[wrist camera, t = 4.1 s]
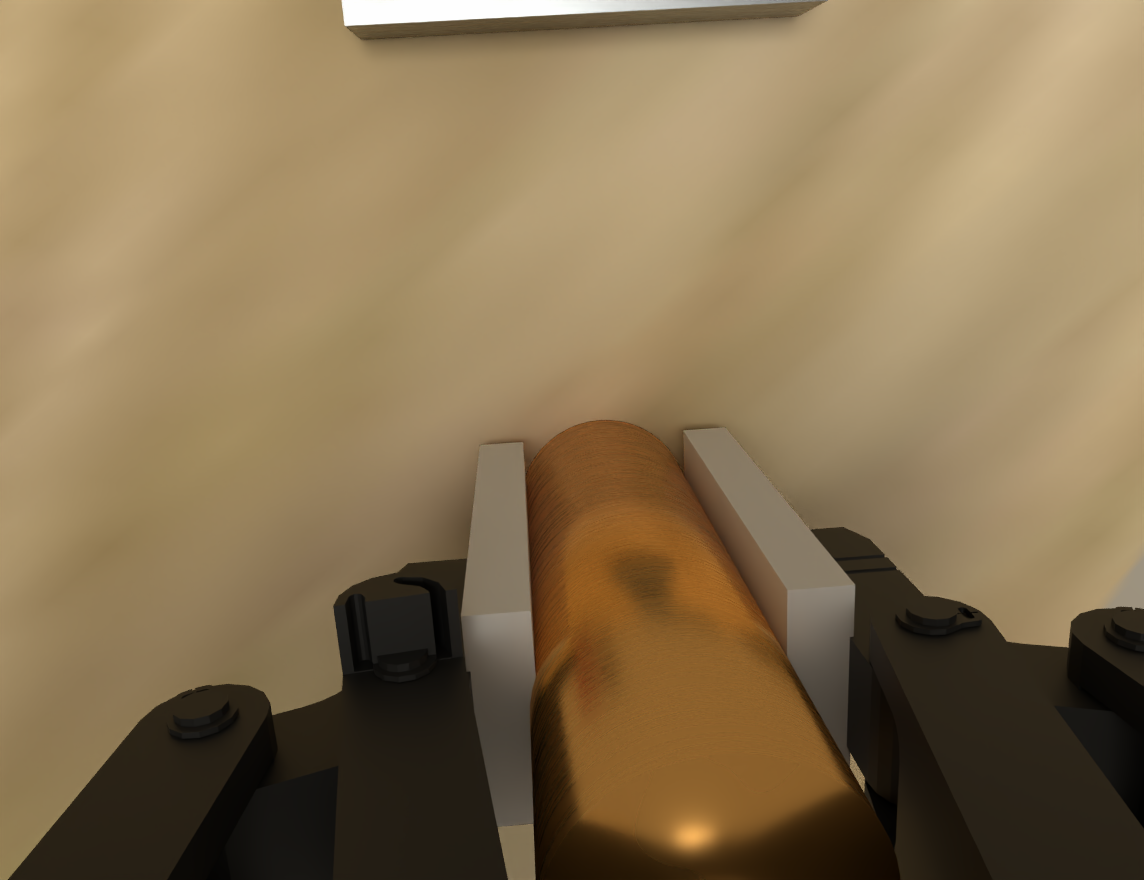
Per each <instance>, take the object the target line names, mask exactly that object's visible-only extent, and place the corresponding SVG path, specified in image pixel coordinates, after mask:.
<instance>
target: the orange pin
mask: <svg viewBox="0 0 1144 880" xmlns="http://www.w3.org/2000/svg"><path fill="white" fill-rule="evenodd" d="M526 489H527V510H528V530H529V550H530V570H531V590H532V611H533V631H534V651H535V671H536V679H535V682H534V685H533V689H532V694H531V701H530V736H531V764H532V791H533V819H534V846H535V874H536V880H900V872H899V867H898V861H897V857H896V854H895V851H894V848H893V846H892V843H891V840H890V838H889V836H888V834H887V833H886V831H885V829H884V827H883V826H882V824H881V822H880V820H879V818H878V817H877V815H876V813H875V811H874V810H873V808H872V806H871V804H870V803H869V801H868V799H867V797H866V795H865V794H864V792H863V790H862V788H861V787H860V785H859V783H858V781H857V780H856V778H855V776H854V774H853V772H852V771H851V769H850V767H849V765H848V764H847V762H846V760H845V758H844V757H843V755H842V753H841V751H840V750H839V748H838V746H837V744H836V742H835V741H834V739H833V737H832V735H831V734H830V732H829V730H828V728H827V727H826V725H825V723H824V721H823V719H822V718H821V716H820V714H819V712H818V711H817V709H816V707H815V705H814V704H813V702H812V700H811V698H810V697H809V695H808V693H807V691H806V689H805V688H804V686H803V684H802V682H801V681H800V679H799V677H798V675H797V674H796V672H795V670H794V668H793V666H792V665H791V663H790V661H789V659H788V658H787V656H786V654H785V652H784V651H783V649H782V647H781V645H780V644H779V642H778V640H777V638H776V636H775V635H774V633H773V631H772V629H771V628H770V626H769V624H768V622H767V621H766V619H765V617H764V615H763V613H762V612H761V610H760V608H759V606H758V605H757V603H756V601H755V599H754V598H753V596H752V594H751V592H750V591H749V589H748V587H747V585H746V583H745V582H744V580H743V578H742V576H741V575H740V573H739V571H738V569H737V568H736V566H735V564H734V562H733V561H732V559H731V557H730V555H729V553H728V552H727V550H726V548H725V546H724V545H723V543H722V541H721V539H720V538H719V536H718V534H717V532H716V530H715V529H714V527H713V525H712V523H711V522H710V520H709V518H708V516H707V515H706V513H705V511H704V509H703V508H702V506H701V504H700V502H699V500H698V499H697V497H696V495H695V493H694V492H693V490H692V488H691V486H690V485H689V483H688V481H687V479H686V477H685V476H684V474H683V472H682V470H681V469H680V467H679V465H678V463H677V462H676V460H675V458H674V456H673V455H672V453H671V452H670V451H669V449H668V448H667V447H666V446H665V445H664V444H663V443H662V442H661V441H660V440H659V439H658V438H656V437H655V436H654V435H652V434H651V433H649V432H648V431H646V430H644V429H642V428H640V427H637V426H635V425H632V424H629V423H625V422H620V421H612V420H600V421H592V422H587V423H583V424H579V425H577V426H574V427H572V428H569V429H567V430H565V431H564V432H562V433H560V434H558V435H557V436H556V437H554V438H553V439H552V440H550V441H549V442H548V443H547V444H546V445H545V446H544V447H543V448H542V449H541V450H540V452H539V453H538V454H537V455H536V457H535V458H534V460H533V462H532V463H531V465H530V467H529V470H528V472H527V474H526Z"/></svg>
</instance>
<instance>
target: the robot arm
mask: <svg viewBox="0 0 1144 880" xmlns="http://www.w3.org/2000/svg"><path fill="white" fill-rule="evenodd" d="M683 448H684V476H685V477H686V479H687V481H688V483H689V485H690V486H691V488H692V490H693V492H694V493H695V495H696V497H697V499H698V500H699V502H700V504H701V506H702V508H703V509H704V511H705V513H706V515H707V516H708V518H709V520H710V522H711V523H712V525H713V527H714V529H715V530H716V532H717V534H718V536H719V538H720V539H721V541H722V543H723V545H724V546H725V548H726V550H727V552H728V553H729V555H730V557H731V559H732V561H733V562H734V564H735V566H736V568H737V569H738V571H739V573H740V575H741V576H742V578H743V580H744V582H745V583H746V585H747V587H748V589H749V591H750V592H751V594H752V596H753V598H754V599H755V601H756V603H757V605H758V606H759V608H760V610H761V612H762V613H763V615H764V617H765V619H766V621H767V622H768V624H769V626H770V628H771V629H772V631H773V633H774V635H775V636H776V638H777V640H778V642H779V644H780V645H781V647H782V649H783V651H784V652H785V654H786V656H787V658H788V659H789V661H790V663H791V665H792V666H793V668H794V670H795V672H796V674H797V675H798V677H799V679H800V681H801V682H802V684H803V686H804V688H805V689H806V691H807V693H808V695H809V697H810V698H811V700H812V702H813V704H814V705H815V707H816V709H817V711H818V712H819V714H820V716H821V718H822V719H823V721H824V723H825V725H826V727H827V728H828V730H829V732H830V734H831V735H832V737H833V739H834V741H835V742H836V744H837V746H838V748H839V750H840V751H841V753H842V755H843V757H844V758H845V760H846V762H847V764H848V765H849V767H850V753H851V755H852V756H853V758H854V760H855V761H856V763H857V765H858V767H859V768H860V770H861V772H862V774H863V775H864V777H865V790H864V794H865V795H866V797H867V799H868V801H869V803H870V804H871V806H872V808H873V810H874V811H875V813H876V815H877V817H878V818H879V820H880V822H881V824H882V826H883V827H884V829H885V831H886V833H887V834H888V836H889V838H890V840H891V843H892V846H893V848H894V851H895V854H896V857H897V861H898V867H899V872H900V880H1144V609H1140V608H1135V610H1133V609H1132V607H1116V608H1112V609H1096V610H1092V611H1088V612H1084V613H1081V614H1079V615H1078V616H1077V617H1076V618H1075V619H1074V620H1073V621H1071V628H1070V638H1069V648H1067V647H1054V646H1042V645H1030V644H1019V643H1012V642H1007V641H1006V640H1005V639H1004V637H1003V636H1002V635H1001V633H1000V632H999V630H998V629H997V628H996V626H995V625H994V624H993V622H992V621H991V620H990V619H989V618H988V617H986V616H985V615H984V614H983V613H982V612H981V611H979V610H977V609H975V608H973V607H971V606H968V605H966V604H964V603H961V602H957V601H953V600H949V599H944V598H940V597H929V596H924V595H923V594H922V593H921V592H920V591H919V590H918V589H917V588H916V587H915V586H914V585H913V584H912V583H911V582H910V581H909V580H908V579H907V578H906V576H905V575H904V574H903V573H902V572H901V571H900V570H897V569H896V566H895V565H894V564H893V563H892V562H891V561H890V560H889V559H888V558H887V557H886V558H885V557H884V554H883V553H882V552H881V551H880V549H879V548H878V547H877V546H876V545H875V544H874V543H873V542H872V541H871V540H870V539H868V538H866V537H864V536H861V535H859V534H857V533H855V532H853V531H851V530H848V529H846V528H844V527H838V528H825V529H812V530H810V529H809V528H808V527H807V526H806V525H805V523H804V522H803V521H802V520H801V518H800V517H799V516H798V515H797V514H796V512H795V511H794V510H793V509H792V508H791V506H790V505H789V504H788V503H787V501H786V500H785V499H784V498H783V497H782V495H781V494H780V493H779V492H778V491H777V489H776V488H775V487H774V486H773V484H772V483H771V482H770V481H769V480H768V478H767V477H766V476H765V475H764V474H763V472H762V471H761V470H760V469H759V467H758V466H757V465H756V464H755V463H754V461H753V460H752V459H751V458H750V457H749V455H748V454H747V453H746V452H745V450H744V449H743V448H742V447H741V446H740V444H739V443H738V442H737V441H736V440H735V438H734V437H733V436H732V435H731V433H730V432H729V431H728V430H727V429H726V427H723V428H709V429H695V430H683ZM333 608H334V615H335V622H336V629H337V636H338V643H339V650H340V657H341V664H342V671H343V685H342V691H340V692H339V693H337V694H335V695H333V696H331V697H329V698H327V699H325V700H323V701H320V702H317V703H314V704H311V705H308V706H305V707H302V708H298V709H294V710H291V711H287V712H283V713H279V714H275V715H272V712H271V706H270V702H269V700H268V699H267V697H266V695H265V694H264V692H262V691H260V690H258V689H255V688H253V687H251V686H246V685H234V684H224V685H217V686H212V685H206V686H202V687H198V688H195V690H193V691H192V689H191V690H188V691H185V692H182V693H180V694H178V695H177V696H176V697H174V698H172V699H170V700H168V701H166V702H164V703H162V704H160V705H158V706H156V707H155V708H154V709H153V710H152V711H151V712H149V713H148V714H147V715H146V716H145V717H144V718H142V719H141V720H140V721H139V723H138V724H137V725H136V726H135V727H134V729H133V730H132V731H131V732H130V733H129V735H128V736H127V737H126V738H125V739H124V741H123V742H122V743H121V744H120V745H119V747H118V748H117V749H116V750H115V751H114V753H113V754H112V755H111V756H110V757H109V759H108V760H107V761H106V762H105V764H104V765H103V766H102V767H101V768H100V770H99V771H98V772H97V773H96V774H95V776H94V777H93V778H92V779H91V780H90V782H89V783H88V784H87V785H86V786H85V788H84V789H83V790H82V791H81V792H80V794H79V795H78V796H77V797H76V798H75V800H74V801H73V802H72V803H71V804H70V806H69V807H68V808H67V809H66V810H65V812H64V813H63V814H62V815H61V816H60V818H59V819H58V820H57V821H56V823H55V824H54V825H53V826H52V827H51V829H50V830H49V831H48V832H47V833H46V835H45V836H44V837H43V838H42V839H41V841H40V842H39V843H38V844H37V845H36V847H35V848H34V849H33V850H32V851H31V853H30V854H29V855H28V856H27V857H26V859H25V860H24V861H23V862H22V863H21V865H20V866H19V867H18V868H17V869H16V871H15V872H14V873H13V874H12V875H11V877H10V878H9V879H8V880H508V878H507V873H506V868H505V863H504V858H503V853H502V848H501V843H500V838H499V833H498V828H497V827H502V826H513V825H524V824H534V819H533V791H532V764H531V736H530V701H531V694H532V689H533V685H534V682H535V679H536V671H535V651H534V631H533V611H532V590H531V570H530V550H529V530H528V510H527V489H526V474H525V461H524V448H523V442H515V443H501V444H487V445H480V449H479V458H478V467H477V476H476V485H475V494H474V503H473V512H472V521H471V530H470V539H469V548H468V557H467V559H458V560H445V561H432V562H419V563H408V564H407V565H406V566H405V567H404V568H402V569H401V570H400V571H399V572H398V573H393V574H389V575H384V576H379V577H375V578H371V579H368V580H366V581H363V582H361V583H358V584H356V585H353V586H352V587H350V588H349V589H347V590H346V591H345V592H343V593H342V594H341V595H339V596H338V598H337V600H336V602H335V604H334V606H333Z"/></svg>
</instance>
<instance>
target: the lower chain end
mask: <svg viewBox="0 0 1144 880" xmlns="http://www.w3.org/2000/svg"><path fill="white" fill-rule="evenodd" d="M826 1H828V0H342V7H343V15H344V24H345V27H347V28H348V29H349V30H350V31H351V32H353V33H354V34H355V35H356V36H357V37H358V38H360V39H380V38H399V37H418V36H437V35H455V34H474V33H493V32H512V31H531V30H549V29H568V28H587V27H606V26H625V25H643V24H662V23H681V22H700V21H719V20H738V19H756V18H775V17H794V16H799V15H801V14H803V13H805V12H807V11H809V10H811V9H813V8H814V7H816V6H818V5H820V4H822V3H824V2H826Z"/></svg>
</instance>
